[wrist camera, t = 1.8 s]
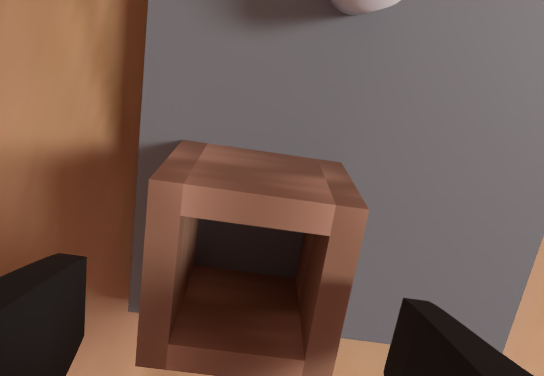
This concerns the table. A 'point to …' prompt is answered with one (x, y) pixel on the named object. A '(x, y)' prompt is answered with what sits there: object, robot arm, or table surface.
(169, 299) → the hollow square block
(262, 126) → the pin plate
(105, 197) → the table surface
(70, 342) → the robot arm
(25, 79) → the table surface
